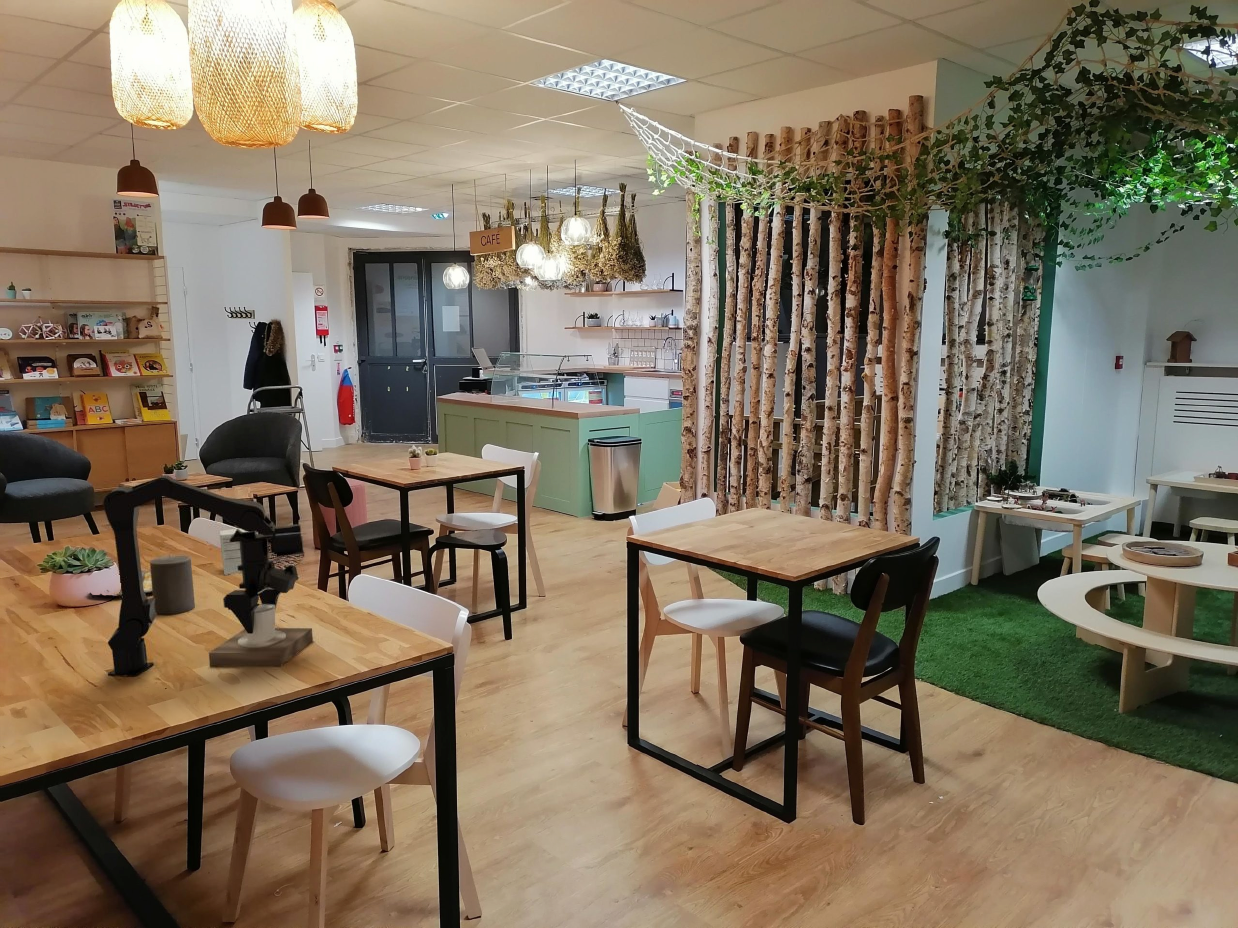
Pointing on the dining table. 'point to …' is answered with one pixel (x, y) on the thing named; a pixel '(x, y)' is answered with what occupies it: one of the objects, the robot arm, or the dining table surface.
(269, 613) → the white cup
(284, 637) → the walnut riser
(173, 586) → the pillar candle
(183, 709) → the dining table surface
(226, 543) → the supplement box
